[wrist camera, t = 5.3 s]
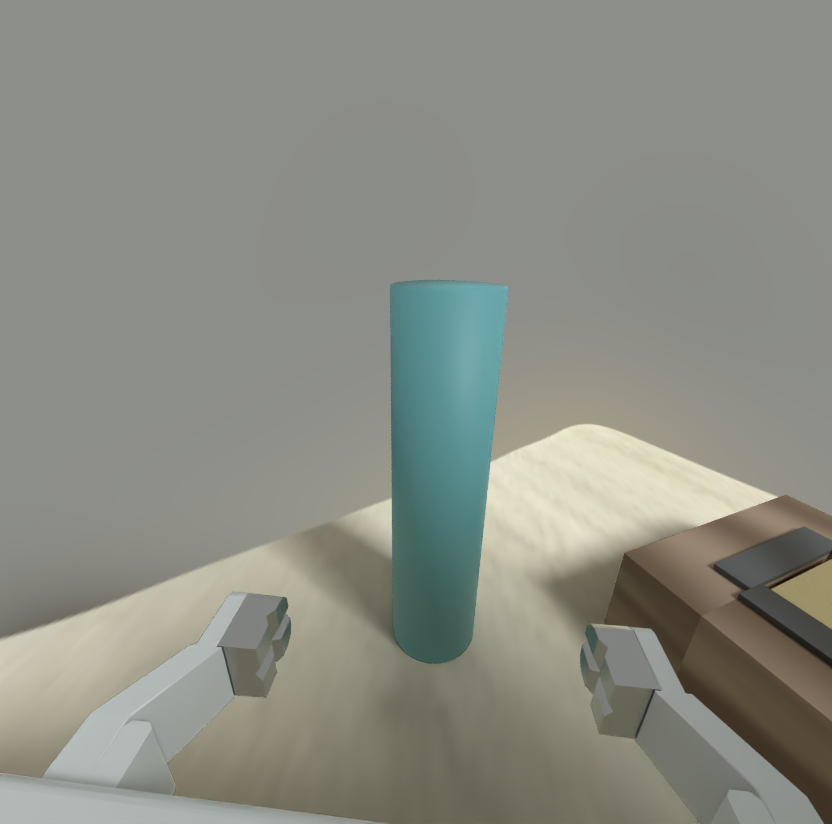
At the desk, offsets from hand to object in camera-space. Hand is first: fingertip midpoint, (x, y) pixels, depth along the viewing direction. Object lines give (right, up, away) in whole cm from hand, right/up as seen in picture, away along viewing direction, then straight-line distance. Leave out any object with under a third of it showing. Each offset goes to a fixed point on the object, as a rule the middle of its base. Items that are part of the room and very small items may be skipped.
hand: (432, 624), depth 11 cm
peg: (+1, -6, +11) cm, 13 cm away
